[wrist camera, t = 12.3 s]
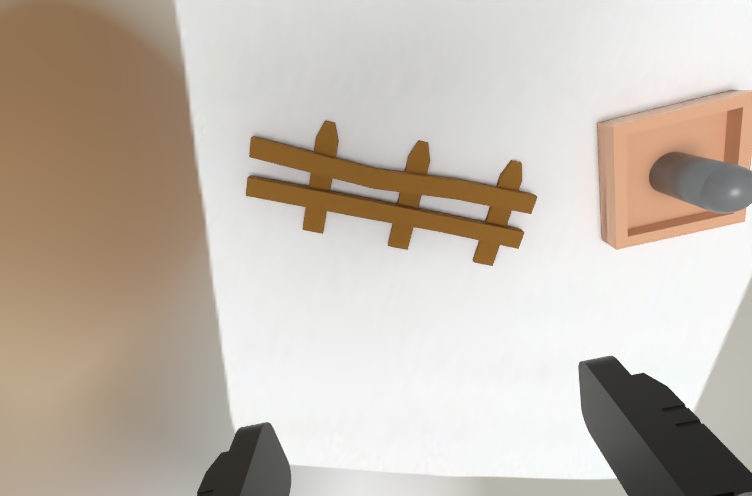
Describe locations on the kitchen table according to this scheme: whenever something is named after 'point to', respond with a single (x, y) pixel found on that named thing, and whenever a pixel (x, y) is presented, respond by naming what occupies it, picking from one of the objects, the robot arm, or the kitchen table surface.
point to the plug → (703, 182)
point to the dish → (651, 141)
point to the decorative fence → (407, 183)
